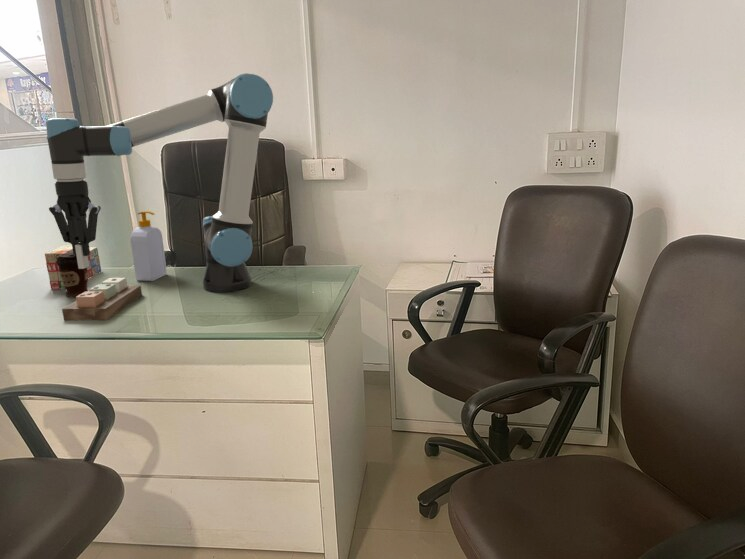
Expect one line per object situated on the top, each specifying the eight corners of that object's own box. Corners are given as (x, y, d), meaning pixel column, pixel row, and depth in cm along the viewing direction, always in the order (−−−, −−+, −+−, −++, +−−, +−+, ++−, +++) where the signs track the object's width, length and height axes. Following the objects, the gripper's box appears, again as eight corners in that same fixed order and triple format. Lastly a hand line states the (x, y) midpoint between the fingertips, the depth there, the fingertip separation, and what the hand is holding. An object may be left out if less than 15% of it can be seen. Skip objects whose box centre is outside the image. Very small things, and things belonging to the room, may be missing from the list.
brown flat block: (142, 295, 172) (140, 285, 172) (107, 319, 151) (105, 308, 150) (104, 295, 173) (102, 285, 172) (63, 319, 152) (61, 308, 151)
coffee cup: (79, 299, 169) (72, 258, 166) (55, 298, 171) (48, 257, 167) (98, 291, 177) (92, 251, 174) (75, 289, 179) (68, 250, 176)
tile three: (104, 301, 157) (102, 290, 156) (95, 307, 152) (93, 296, 151) (87, 301, 157) (85, 290, 156) (77, 307, 152) (75, 296, 151)
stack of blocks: (84, 272, 201) (79, 238, 197) (101, 272, 201) (96, 238, 197) (50, 289, 180) (43, 252, 177) (69, 289, 180) (63, 252, 177)
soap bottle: (154, 281, 187) (145, 214, 181) (135, 280, 188) (126, 213, 182) (169, 274, 195) (161, 209, 189) (151, 273, 197) (142, 209, 190)
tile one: (127, 287, 170) (125, 277, 169) (119, 291, 165) (118, 281, 165) (111, 287, 170) (109, 277, 170) (103, 292, 166) (101, 281, 165)
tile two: (116, 294, 164) (114, 283, 163) (108, 299, 159) (106, 288, 158) (99, 294, 164) (98, 283, 163) (90, 299, 159) (89, 288, 158)
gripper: (102, 178, 148) (114, 264, 155) (54, 178, 149) (68, 263, 155) (87, 181, 141) (100, 271, 148) (37, 181, 142) (52, 270, 148)
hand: (83, 267), depth 151 cm, fingers closed
